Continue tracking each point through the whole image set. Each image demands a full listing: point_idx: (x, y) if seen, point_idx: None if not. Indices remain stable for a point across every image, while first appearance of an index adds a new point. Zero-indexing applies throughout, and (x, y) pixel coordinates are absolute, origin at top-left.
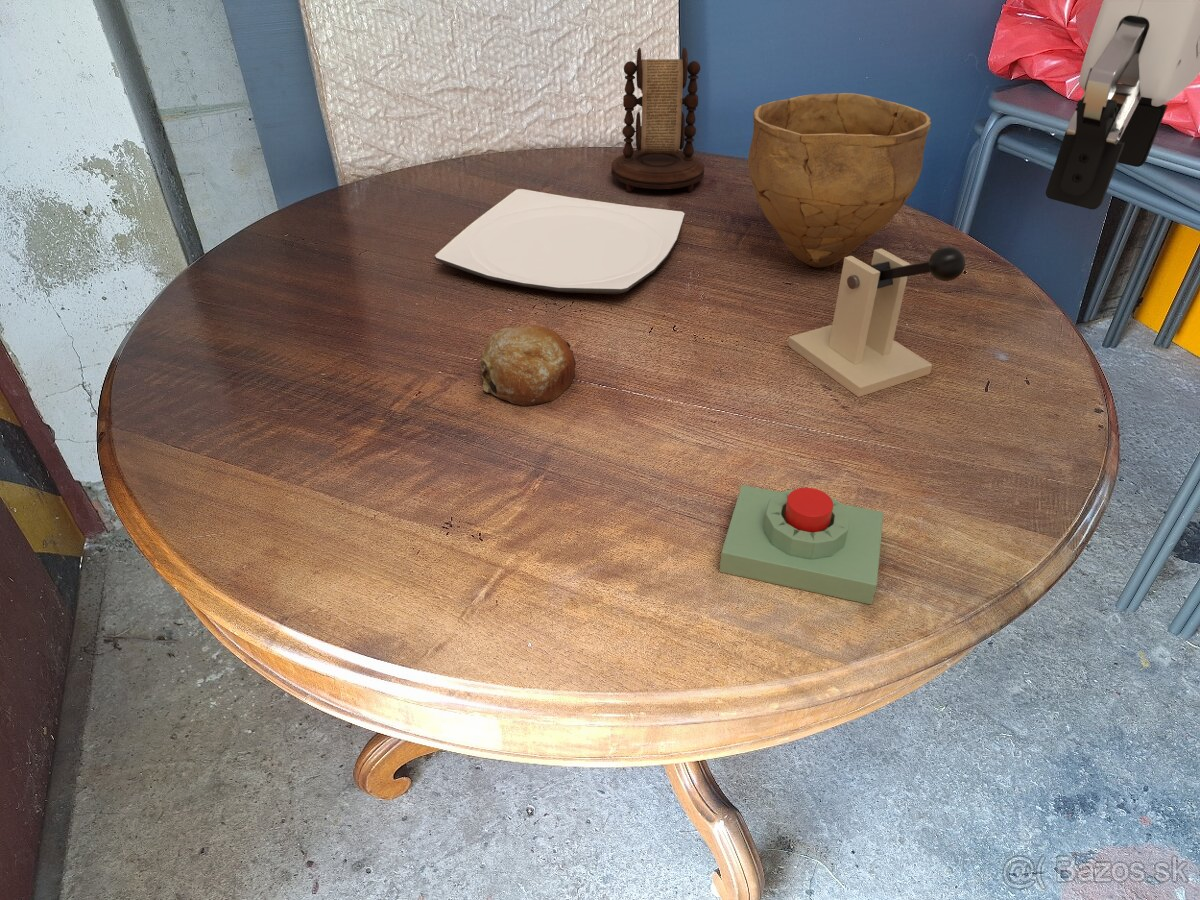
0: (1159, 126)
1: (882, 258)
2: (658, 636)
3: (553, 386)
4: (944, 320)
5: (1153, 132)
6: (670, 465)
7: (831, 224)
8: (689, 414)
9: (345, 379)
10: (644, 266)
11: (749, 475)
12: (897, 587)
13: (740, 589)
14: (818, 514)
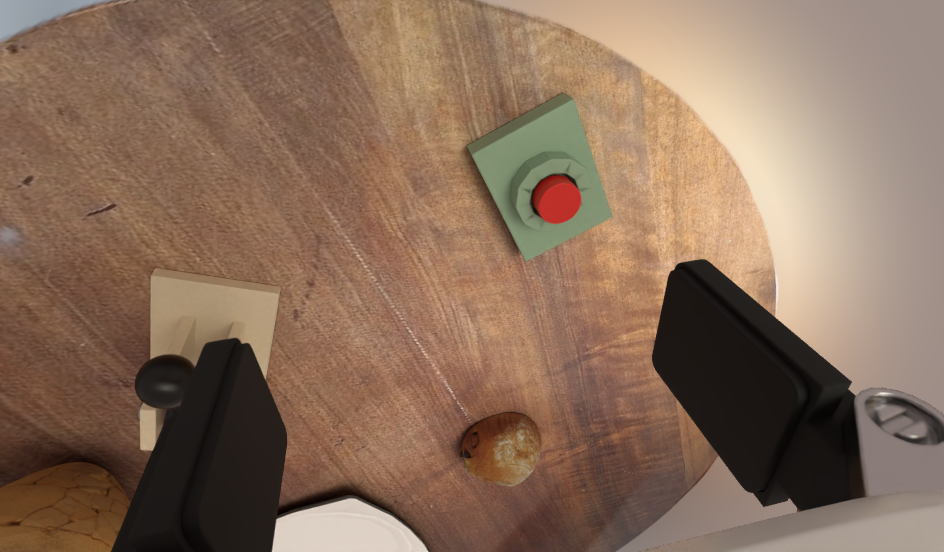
0: (163, 448)
1: (157, 434)
2: (685, 191)
3: (509, 422)
4: (14, 327)
5: (210, 430)
6: (513, 313)
7: (103, 511)
8: (442, 351)
9: (579, 481)
10: (290, 519)
11: (478, 269)
12: (526, 87)
13: (610, 183)
14: (572, 188)
